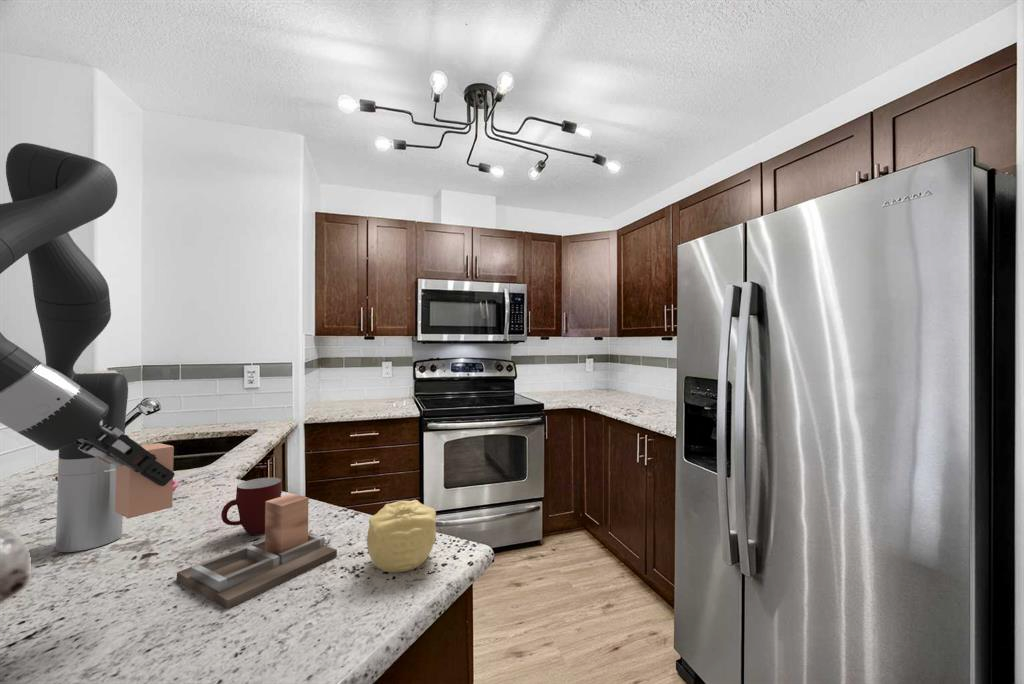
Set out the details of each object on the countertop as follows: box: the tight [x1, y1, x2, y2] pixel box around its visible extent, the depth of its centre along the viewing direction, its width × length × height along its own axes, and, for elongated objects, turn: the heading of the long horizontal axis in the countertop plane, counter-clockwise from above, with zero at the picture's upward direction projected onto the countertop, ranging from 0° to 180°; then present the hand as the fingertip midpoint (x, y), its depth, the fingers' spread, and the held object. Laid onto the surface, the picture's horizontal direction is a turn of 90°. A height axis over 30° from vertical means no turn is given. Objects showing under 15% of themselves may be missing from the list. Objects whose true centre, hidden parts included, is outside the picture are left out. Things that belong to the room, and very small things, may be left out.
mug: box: [220, 477, 283, 536], centre depth 85 cm, size 11×8×10 cm
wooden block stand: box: [176, 493, 338, 610], centre depth 71 cm, size 16×18×10 cm
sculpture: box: [366, 499, 437, 573], centre depth 73 cm, size 12×12×11 cm
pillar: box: [115, 442, 175, 519], centre depth 61 cm, size 5×5×9 cm
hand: (160, 477), depth 63 cm, fingers closed on pillar, 5 cm apart
